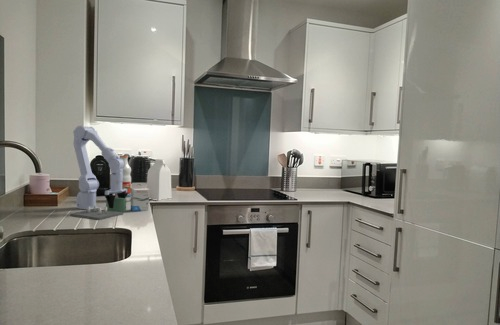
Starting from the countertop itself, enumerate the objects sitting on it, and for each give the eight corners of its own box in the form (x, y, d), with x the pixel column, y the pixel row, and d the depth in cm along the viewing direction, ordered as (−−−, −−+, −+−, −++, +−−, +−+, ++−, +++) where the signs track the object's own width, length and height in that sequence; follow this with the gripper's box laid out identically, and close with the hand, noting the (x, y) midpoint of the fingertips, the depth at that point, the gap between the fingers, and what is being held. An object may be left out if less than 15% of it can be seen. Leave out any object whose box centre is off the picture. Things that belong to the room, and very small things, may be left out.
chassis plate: (70, 215, 177) (70, 207, 177) (95, 210, 192) (95, 203, 191) (99, 219, 170) (99, 211, 170) (123, 214, 185) (123, 206, 185)
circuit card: (106, 209, 196) (106, 196, 195) (108, 209, 197) (108, 196, 197) (123, 212, 191) (124, 199, 191) (125, 211, 193) (126, 198, 192)
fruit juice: (118, 199, 233) (120, 155, 232) (133, 200, 232) (134, 155, 231) (111, 201, 223) (112, 155, 222) (126, 202, 222) (127, 156, 221)
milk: (145, 198, 239) (146, 159, 237) (158, 197, 248) (159, 158, 247) (158, 201, 232) (160, 160, 231) (171, 199, 242) (172, 159, 241)
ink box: (132, 211, 194) (133, 183, 193) (130, 210, 198) (131, 182, 197) (148, 210, 198) (149, 183, 198) (145, 209, 203) (146, 182, 202)
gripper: (112, 183, 185) (112, 209, 186) (132, 181, 199) (131, 205, 199) (101, 182, 188) (101, 208, 189) (121, 180, 201) (121, 204, 202)
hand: (116, 207), depth 194 cm, fingers open, 7 cm apart
